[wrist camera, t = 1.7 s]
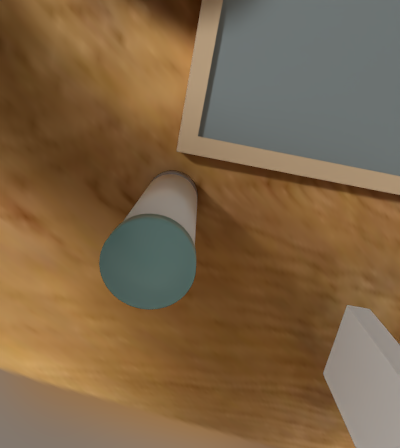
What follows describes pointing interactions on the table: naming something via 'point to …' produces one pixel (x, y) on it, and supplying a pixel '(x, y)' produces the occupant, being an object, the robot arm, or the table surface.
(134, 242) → the teal and white cylinder
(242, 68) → the board
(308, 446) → the table surface
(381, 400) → the robot arm
